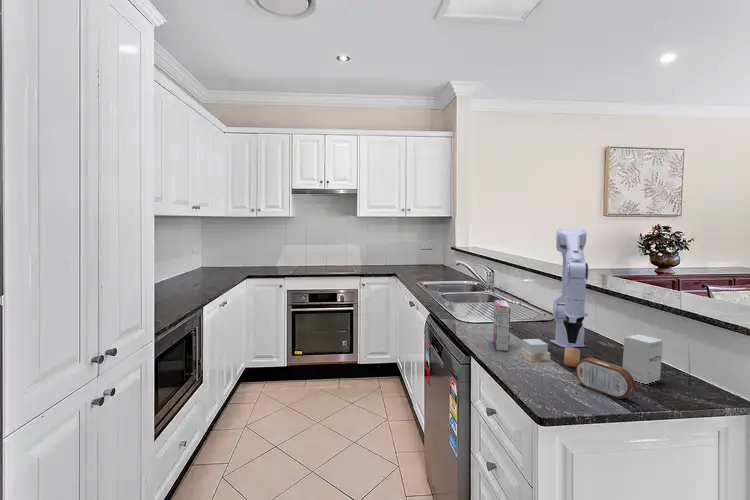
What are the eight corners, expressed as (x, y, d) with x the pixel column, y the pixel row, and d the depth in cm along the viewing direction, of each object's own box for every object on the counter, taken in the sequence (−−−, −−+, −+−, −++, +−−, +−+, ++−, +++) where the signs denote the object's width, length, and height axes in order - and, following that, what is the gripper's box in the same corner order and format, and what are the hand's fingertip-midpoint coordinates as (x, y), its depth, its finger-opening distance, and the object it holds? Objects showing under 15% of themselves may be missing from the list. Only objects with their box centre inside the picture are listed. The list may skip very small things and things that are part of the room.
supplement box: (646, 386, 115) (649, 343, 114) (620, 377, 122) (623, 336, 121) (661, 381, 119) (663, 339, 118) (635, 373, 125) (637, 333, 124)
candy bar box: (492, 341, 156) (493, 299, 154) (505, 342, 155) (507, 300, 153) (494, 350, 145) (496, 305, 144) (509, 351, 144) (511, 306, 143)
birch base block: (538, 355, 142) (539, 346, 142) (550, 362, 135) (550, 353, 135) (520, 355, 141) (520, 347, 141) (530, 362, 134) (531, 354, 134)
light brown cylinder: (573, 361, 135) (574, 346, 134) (582, 366, 130) (583, 351, 130) (561, 362, 134) (561, 347, 134) (569, 366, 130) (570, 351, 129)
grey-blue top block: (538, 347, 141) (538, 339, 141) (547, 353, 135) (548, 344, 135) (522, 347, 140) (522, 339, 140) (530, 353, 134) (531, 344, 134)
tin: (634, 401, 105) (636, 370, 105) (628, 404, 104) (630, 372, 103) (579, 381, 118) (580, 353, 117) (573, 383, 116) (574, 355, 116)
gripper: (588, 304, 122) (585, 347, 123) (589, 296, 135) (587, 336, 136) (562, 301, 126) (560, 344, 127) (566, 294, 138) (564, 333, 139)
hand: (572, 340), depth 131 cm, fingers open, 7 cm apart
